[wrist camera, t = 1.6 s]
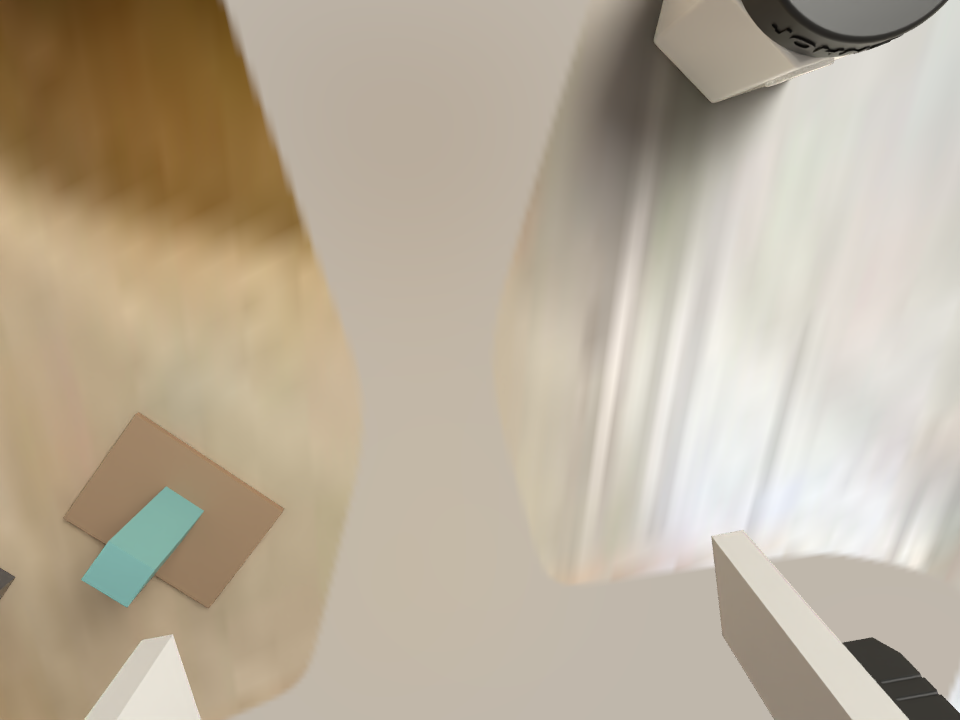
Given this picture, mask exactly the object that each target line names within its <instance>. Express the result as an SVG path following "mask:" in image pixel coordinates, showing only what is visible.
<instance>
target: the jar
mask: <svg viewBox="0 0 960 720" xmlns="http://www.w3.org/2000/svg"><path fill="white" fill-rule="evenodd" d="M947 1H948V0H663V4H662V8H661V12H660V16H659V20H658V24H657V28H656V32H655V36H654V43H655V44H656V45H657V47H658V48H659V49H660V50H661V51H662V52H663V53H664V54H665V55H666V56H667V57H668V58H669V59H670V60H671V61H672V62H673V63H674V64H675V65H676V66H677V67H678V68H679V69H680V70H681V72H682V73H683V74H684V75H685V76H686V77H687V78H688V79H689V80H690V81H691V82H692V83H693V84H694V85H695V86H696V87H697V88H698V89H699V90H700V91H701V92H702V93H703V94H704V96H705V97H706V98H707V99H708V100H709V101H710V102H712V103H717V102H720V101H723V100H726V99H729V98H732V97H735V96H738V95H740V94H743V93H746V92H749V91H752V90H755V89H758V88H761V87H764V86H767V87H770V86H773V85H776V84H779V83H782V82H784V81H787V80H790V79H793V78H796V77H798V76H801V75H804V74H807V73H810V72H812V71H815V70H818V69H821V68H823V67H826V66H829V65H831V64H833V63H834V61H835V60H837V59H840V58H842V57H845V56H847V55H850V54H855V53H859V52H862V51H865V50H870V49H872V48H875V47H878V46H880V45H883V44H885V43H888V42H890V41H891V40H893V39H895V38H898V37H900V36H902V35H903V34H904V33H906V32H908V31H910V30H912V29H914V28H915V27H917V26H919V25H920V24H922V23H923V22H924V21H926V20H927V19H928V18H930V17H931V16H932V15H934V14H935V13H936V12H937V11H938V10H939V9H940V8H941V7H942V6H943V5H944V4H945V3H946V2H947Z"/></svg>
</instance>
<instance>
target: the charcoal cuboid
mask: <svg viewBox="0 0 960 720" xmlns="http://www.w3.org/2000/svg"><path fill="white" fill-rule="evenodd" d="M14 579H15V577H14V576H12V575H11V574H9V573H7V572H6V571H4V570H2V569H1V568H0V599H1V597H2V596H3V594H4V593H5V591H6V590H7V589H8V587H9V586H10V584H11V583H12V581H13V580H14Z"/></svg>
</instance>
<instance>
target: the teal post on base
mask: <svg viewBox="0 0 960 720" xmlns="http://www.w3.org/2000/svg"><path fill="white" fill-rule="evenodd" d="M283 510H284V508H282V507H281V506H279V505H278V504H276V503H275V502H273V501H272V500H270V499H269V498H267V497H265V496H264V495H262V494H261V493H259V492H258V491H256V490H255V489H253V488H252V487H250V486H249V485H247V484H246V483H244V482H243V481H241V480H240V479H238V478H237V477H235V476H234V475H232V474H231V473H229V472H228V471H226V470H225V469H223V468H222V467H220V466H219V465H217V464H216V463H214V462H213V461H211V460H210V459H208V458H207V457H205V456H204V455H202V454H201V453H199V452H198V451H196V450H195V449H193V448H192V447H190V446H189V445H187V444H186V443H184V442H183V441H181V440H180V439H178V438H177V437H175V436H174V435H172V434H171V433H169V432H168V431H166V430H165V429H163V428H161V427H160V426H158V425H157V424H155V423H154V422H152V421H151V420H149V419H148V418H146V417H145V416H143V415H142V414H140V413H137V414H135V416H134V417H133V419H132V420H131V422H130V423H129V425H128V426H127V427H126V429H125V430H124V432H123V433H122V435H121V436H120V437H119V439H118V440H117V442H116V443H115V445H114V446H113V447H112V449H111V450H110V452H109V453H108V455H107V456H106V458H105V459H104V460H103V462H102V463H101V465H100V466H99V468H98V469H97V470H96V472H95V473H94V475H93V476H92V478H91V479H90V480H89V482H88V483H87V485H86V486H85V488H84V489H83V491H82V492H81V493H80V495H79V496H78V498H77V499H76V501H75V502H74V503H73V505H72V506H71V508H70V509H69V511H68V512H67V513H66V515H65V516H64V519H65V520H67V521H69V522H70V523H72V524H73V525H75V526H77V527H78V528H80V529H81V530H83V531H85V532H86V533H88V534H90V535H91V536H93V537H94V538H96V539H98V540H99V541H101V542H102V543H104V544H106V546H105V547H104V548H103V550H102V551H101V553H100V554H99V555H98V557H97V558H96V560H95V561H94V562H93V564H92V565H91V566H90V568H89V569H88V571H87V572H86V573H85V575H84V576H83V578H82V579H81V580H82V581H84V582H86V583H87V584H89V585H91V586H92V587H94V588H96V589H97V590H99V591H100V592H102V593H104V594H105V595H107V596H109V597H110V598H112V599H114V600H115V601H117V602H119V603H120V604H122V605H123V606H125V607H128V606H129V605H130V603H131V602H132V601H133V600H134V599H135V597H136V596H137V595H138V594H139V593H140V591H141V590H142V589H143V588H144V587H145V585H146V584H147V583H148V582H149V581H150V579H151V578H152V577H153V576H154V575H156V576H157V577H159V578H160V579H162V580H164V581H165V582H167V583H168V584H170V585H172V586H173V587H175V588H176V589H178V590H180V591H181V592H183V593H184V594H186V595H188V596H189V597H191V598H193V599H194V600H196V601H197V602H199V603H201V604H202V605H204V606H205V607H207V608H209V607H210V606H211V605H212V603H213V602H214V601H215V600H216V598H217V597H218V596H219V594H220V593H221V592H222V590H223V589H224V588H225V586H226V585H227V584H228V583H229V581H230V580H231V579H232V577H233V576H234V575H235V573H236V572H237V571H238V569H239V568H240V567H241V566H242V564H243V563H244V562H245V560H246V559H247V558H248V556H249V555H250V554H251V552H252V551H253V550H254V549H255V547H256V546H257V545H258V543H259V542H260V541H261V539H262V538H263V537H264V535H265V534H266V533H267V532H268V530H269V529H270V528H271V526H272V525H273V524H274V522H275V521H276V520H277V518H278V517H279V516H280V515H281V513H282V512H283Z"/></svg>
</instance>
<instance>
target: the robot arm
mask: <svg viewBox="0 0 960 720" xmlns="http://www.w3.org/2000/svg"><path fill="white" fill-rule="evenodd" d="M711 537H712V546H713V555H714V564H715V573H716V581H717V590H718V599H719V608H720V617H721V626H722V635H723V637H724V639H725V640H726V642H727V643H728V645H729V647H730V648H731V650H732V652H733V653H734V655H735V657H736V658H737V660H738V661H739V663H740V664H741V666H742V668H743V669H744V671H745V673H746V674H747V676H748V678H749V679H750V681H751V682H752V684H753V686H754V688H755V689H756V691H757V692H758V694H759V696H760V697H761V699H762V700H763V702H764V704H765V705H766V707H767V709H768V710H769V712H770V714H771V715H772V717H773V718H774V720H960V713H959V712H958V711H957V710H956V709H955V708H954V707H953V706H952V705H951V704H950V703H949V702H948V701H947V700H946V699H945V698H944V697H943V696H942V695H939V694H938V692H937V690H936V689H935V688H934V687H933V686H932V685H931V684H930V683H929V682H928V681H927V680H926V679H925V678H922V677H921V675H920V673H919V672H918V671H917V670H916V669H915V668H914V667H913V666H912V664H910V662H909V661H907V660H906V658H904V657H903V655H902V654H901V653H899V652H897V651H895V650H894V649H892V648H890V647H889V646H887V645H885V644H883V643H881V642H880V641H878V640H876V639H874V638H866V639H861V640H856V641H850V642H844V643H842V642H841V641H840V640H839V639H838V638H837V637H836V636H835V635H834V633H833V632H832V631H831V630H830V629H829V628H828V626H827V625H826V624H825V623H824V622H823V621H822V620H821V618H820V617H819V616H818V615H817V614H816V613H815V612H814V611H813V609H812V608H810V606H809V605H808V604H807V603H806V601H805V600H804V599H803V598H802V597H801V596H800V595H799V593H798V592H797V591H796V590H795V589H794V588H793V587H792V585H791V584H790V583H789V582H788V581H787V580H786V579H785V577H784V576H783V575H782V574H781V573H780V572H779V571H778V569H777V568H776V567H775V566H774V565H773V564H772V563H771V561H770V560H769V559H768V558H767V557H766V556H765V555H764V553H763V552H762V551H761V550H760V549H759V548H758V547H757V545H756V544H755V543H754V542H753V541H752V540H751V539H750V537H749V536H748V535H747V534H746V533H745V532H744V531H743V530H741V531H736V532H730V533H725V534H719V535H714V536H711ZM84 720H201V718H200V715H199V712H198V709H197V706H196V703H195V700H194V697H193V694H192V691H191V688H190V685H189V682H188V679H187V676H186V673H185V670H184V667H183V664H182V661H181V658H180V655H179V652H178V649H177V646H176V643H175V640H174V637H173V634H172V635H167V636H161V637H156V638H150V639H145V640H141V642H140V643H139V644H138V646H137V647H136V649H135V650H134V651H133V653H132V654H131V655H130V657H129V658H128V660H127V661H126V662H125V664H124V665H123V667H122V668H121V669H120V671H119V672H118V673H117V675H116V676H115V678H114V679H113V680H112V682H111V683H110V684H109V686H108V687H107V689H106V690H105V691H104V693H103V694H102V696H101V697H100V698H99V700H98V701H97V702H96V704H95V705H94V707H93V708H92V709H91V711H90V712H89V714H88V715H87V716H86V718H85V719H84Z"/></svg>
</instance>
